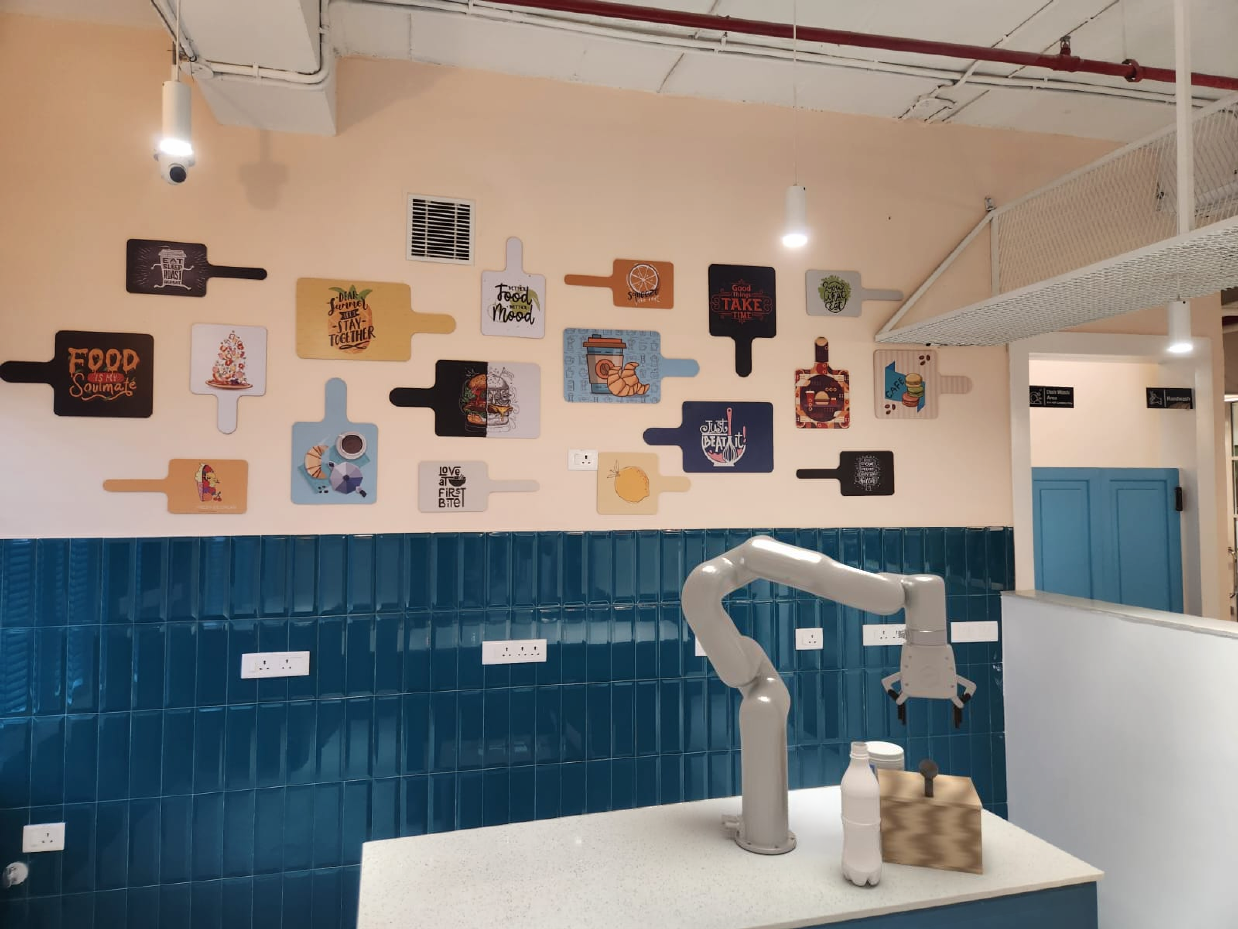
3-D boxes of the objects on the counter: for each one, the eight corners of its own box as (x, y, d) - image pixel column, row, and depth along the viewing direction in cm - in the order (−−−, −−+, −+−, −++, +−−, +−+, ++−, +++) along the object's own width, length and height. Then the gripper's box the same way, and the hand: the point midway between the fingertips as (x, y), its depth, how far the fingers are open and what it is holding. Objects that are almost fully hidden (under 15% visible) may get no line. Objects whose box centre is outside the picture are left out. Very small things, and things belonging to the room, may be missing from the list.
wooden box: (882, 861, 149) (881, 799, 149) (879, 829, 163) (878, 773, 164) (982, 874, 144) (981, 810, 144) (970, 840, 158) (969, 781, 159)
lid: (880, 799, 149) (879, 759, 150) (877, 772, 164) (876, 736, 164) (982, 810, 144) (981, 768, 144) (970, 781, 159) (969, 743, 159)
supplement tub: (856, 816, 170) (855, 750, 171) (864, 801, 179) (863, 738, 179) (902, 825, 166) (901, 756, 166) (907, 809, 174) (906, 744, 175)
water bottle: (884, 891, 138) (881, 751, 139) (843, 887, 139) (841, 749, 140) (879, 872, 145) (876, 739, 146) (840, 868, 146) (838, 737, 147)
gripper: (881, 639, 149) (884, 727, 148) (976, 642, 144) (980, 734, 143) (879, 633, 156) (882, 717, 155) (970, 635, 151) (974, 722, 150)
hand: (929, 725), depth 149 cm, fingers open, 9 cm apart
